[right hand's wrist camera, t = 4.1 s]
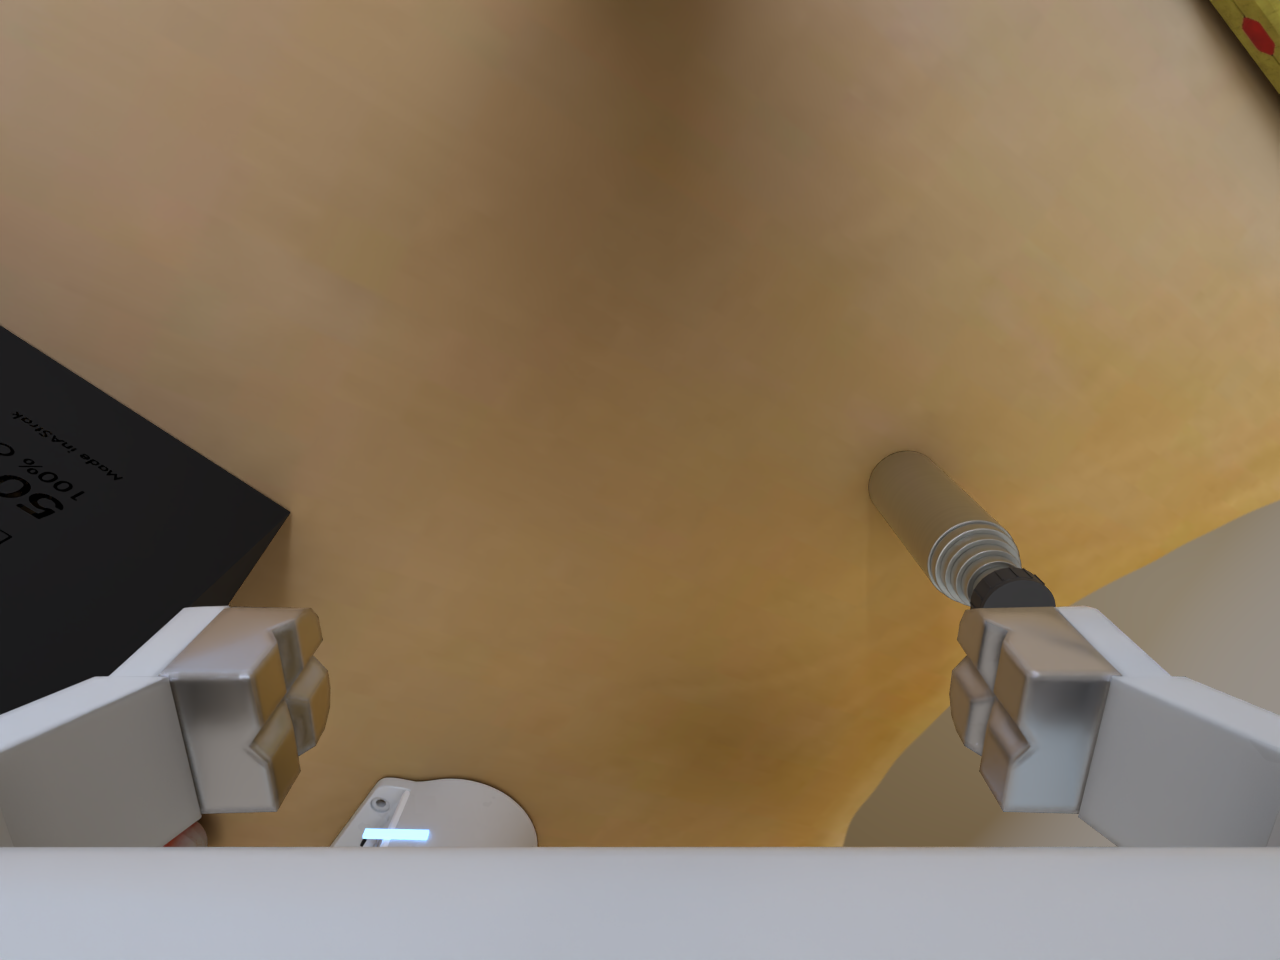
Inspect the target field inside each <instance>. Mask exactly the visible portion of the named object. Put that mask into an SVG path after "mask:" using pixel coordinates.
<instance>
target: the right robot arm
mask: <svg viewBox="0 0 1280 960" xmlns="http://www.w3.org/2000/svg"><path fill="white" fill-rule="evenodd" d="M322 641H323V638H322V633H321V628H320V622H319V617H318V616H317V614H316V613H315V612H314V611H313V610H312V609H311V608H275V607H230V606H205V607H188V608H183V609H182V610H181V611H180V612H179V613H178V614H177V615H176V616H175V617H173V618H172V619H171V620H170V621H169V622H168V623H167V624H166V625H165V626H164V627H162V628H161V629H160V630H159V631H158V632H157V633H156V634H155V635H154V636H153V637H151V638H150V639H149V640H148V641H147V642H146V643H145V644H144V645H143V646H141V647H140V648H139V649H138V650H137V651H136V652H135V653H134V654H133V655H132V656H130V657H129V658H128V659H127V660H126V661H125V662H124V663H123V664H122V665H121V666H119V667H118V668H117V669H116V670H115V671H114V672H113V673H112V674H111V675H109V676H101V677H93V678H90V679H88V680H85V681H83V682H80V683H78V684H75V685H73V686H70V687H68V688H65V689H63V690H61V691H58V692H56V693H53V694H51V695H48V696H46V697H43V698H41V699H38V700H36V701H33V702H31V703H28V704H26V705H24V706H21V707H19V708H16V709H14V710H11V711H9V712H6V713H4V714H1V715H0V960H1280V715H1278V714H1276V713H1273V712H1271V711H1269V710H1266V709H1264V708H1261V707H1259V706H1256V705H1254V704H1251V703H1249V702H1246V701H1244V700H1241V699H1239V698H1237V697H1234V696H1232V695H1229V694H1227V693H1224V692H1222V691H1219V690H1217V689H1214V688H1212V687H1210V686H1207V685H1205V684H1202V683H1200V682H1197V681H1195V680H1192V679H1190V678H1187V677H1180V676H1178V677H1177V676H1171V675H1169V674H1168V673H1167V672H1166V671H1165V670H1164V669H1163V668H1162V667H1161V666H1160V665H1158V664H1157V663H1156V662H1155V661H1154V660H1153V659H1152V658H1151V657H1150V656H1149V655H1147V654H1146V653H1145V652H1144V651H1143V650H1142V649H1141V648H1140V647H1139V646H1138V645H1136V644H1135V643H1134V642H1133V641H1132V640H1131V639H1130V638H1129V637H1128V636H1127V635H1125V634H1124V633H1123V632H1122V631H1121V630H1120V629H1119V628H1118V627H1117V626H1116V625H1114V624H1113V623H1112V622H1111V621H1110V620H1109V619H1108V618H1107V617H1106V616H1105V615H1103V614H1102V613H1101V612H1100V611H1099V610H1098V609H1096V608H1092V607H1089V606H1068V607H1017V608H975V609H969V610H965V612H964V615H963V617H962V619H961V621H960V626H959V632H958V637H957V641H958V642H959V644H960V645H961V647H962V648H963V650H964V651H965V653H966V654H967V656H966V657H965V658H964V659H963V660H962V661H961V662H960V663H959V664H958V665H957V666H956V667H955V668H954V669H953V670H952V676H951V684H950V693H949V695H950V705H951V715H952V719H953V722H954V725H955V728H956V731H957V733H958V735H959V737H960V738H961V740H962V742H963V744H964V746H966V747H967V748H969V749H971V750H972V751H974V752H975V753H977V754H979V755H980V756H982V758H981V764H980V770H979V772H980V773H981V775H982V776H983V778H984V780H985V782H986V783H987V785H988V787H989V788H990V790H991V792H992V793H993V795H994V797H995V798H996V800H997V802H998V804H999V805H1000V807H1001V809H1002V810H1003V812H1034V813H1071V814H1079V815H1078V817H1079V818H1080V819H1082V820H1083V821H1084V822H1086V823H1087V824H1088V825H1090V826H1091V827H1092V828H1094V829H1095V830H1096V831H1098V832H1099V833H1100V834H1102V835H1103V836H1104V837H1106V838H1107V839H1108V840H1110V841H1111V842H1112V843H1114V844H1115V845H1116V846H1118V847H163V846H164V845H165V844H167V843H168V842H169V841H171V840H172V839H173V838H175V837H176V836H177V835H179V834H180V833H181V832H183V831H184V830H185V829H187V828H188V827H189V826H191V825H192V824H193V823H195V822H196V821H197V820H199V819H200V818H201V817H202V816H201V814H210V813H245V812H277V810H278V809H279V807H280V805H281V804H282V802H283V800H284V799H285V797H286V795H287V794H288V792H289V790H290V788H291V787H292V785H293V783H294V782H295V780H296V778H297V777H298V775H299V773H300V771H301V770H300V764H299V758H298V756H300V755H301V754H303V753H305V752H306V751H308V750H309V749H311V748H313V747H314V746H316V744H317V742H318V740H319V738H320V737H321V735H322V733H323V731H324V729H325V725H326V721H327V717H328V713H329V709H330V682H329V675H328V670H327V669H326V668H325V667H324V666H323V665H322V664H321V663H320V662H319V661H318V660H317V659H316V658H315V657H314V656H313V654H314V653H315V651H316V650H317V648H318V647H319V645H320V644H321V642H322Z"/></svg>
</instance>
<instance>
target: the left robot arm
mask: <svg viewBox="0 0 1280 960" xmlns="http://www.w3.org/2000/svg"><path fill="white" fill-rule="evenodd" d="M380 799H381V800H384V801H381V800H380ZM330 847H538V844H537V836H536V832H535V829H534V826H533V824H532V822H531V820H530V818H529V817H528V815H527V814H526V812H525V811H524V810H523V809H522V808H521V807H520V806H519V805H518V804H517V803H516V802H515V801H514V800H513V799H511V798H510V797H509V796H507V795H506V794H504V793H503V792H501V791H499V790H497V789H495V788H493V787H491V786H488V785H485V784H482V783H479V782H475V781H470V780H464V779H438V780H430V781H421V782H415V781H410V780H405V779H400V778H383V779H381V780H379V781H378V782H377V783H376V785H375V786H374V787H373V789H372V790H371V791H370V793H369V794H368V796H367V797H366V798H365V800H364V801H363V802H362V804H361V805H360V806H359V808H358V809H357V810H356V812H355V813H354V814H353V816H352V817H351V819H350V820H349V821H348V823H347V824H346V825H345V827H344V828H343V829H342V831H341V832H340V833H339V835H338V836H337V837H336V839H335V840H334V842H333V843H332V844H331V846H330Z"/></svg>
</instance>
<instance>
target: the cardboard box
mask: <svg viewBox="0 0 1280 960" xmlns="http://www.w3.org/2000/svg"><path fill="white" fill-rule="evenodd" d="M17 412H19V414H18V415H14V414H16V413H17ZM12 414H13V415H12ZM20 415H23V416H20ZM24 417H26V420H25V421H22V420H20V419H24ZM28 419H30V420H31V421H30V423H29V424H28V423H25V422H29V420H28ZM31 425H33V427H32V426H31ZM37 425H39V426H37ZM36 426H37V427H36ZM41 427H43V428H44V429H42V430H41ZM36 428H38V430H39V431H37V430H36ZM46 430H47V431H48V432H46V436H45V437H42V436H43V435H44V433H45V431H46ZM49 432H51V433H52V434H50V433H49ZM47 435H48V436H47ZM2 443H4V444H5V446H4V445H0V479H1V480H3V481H4V482H2V483H0V715H1V714H4V713H6V712H9V711H11V710H14V709H16V708H19V707H21V706H24V705H26V704H28V703H31V702H33V701H36V700H38V699H41V698H43V697H46V696H48V695H51V694H53V693H56V692H58V691H61V690H63V689H65V688H68V687H70V686H73V685H75V684H78V683H80V682H83V681H85V680H88V679H90V678H93V677H101V676H109V675H111V674H112V673H113V672H114V671H115V670H116V669H117V668H118V667H119V666H121V665H122V664H123V663H124V662H125V661H126V660H127V659H128V658H129V657H130V656H132V655H133V654H134V653H135V652H136V651H137V650H138V649H139V648H140V647H141V646H143V645H144V644H145V643H146V642H147V641H148V640H149V639H150V638H151V637H153V636H154V635H155V634H156V633H157V632H158V631H159V630H160V629H161V628H162V627H164V626H165V625H166V624H167V623H168V622H169V621H170V620H171V619H172V618H173V617H175V616H176V615H177V614H178V613H179V612H180V611H181V610H182V609H183V608H188V607H205V606H227V605H228V604H229V602H230V601H231V600H232V598H233V597H234V595H235V594H236V592H237V591H238V589H239V588H240V586H241V585H242V583H243V582H244V580H245V579H246V577H247V576H248V574H249V573H250V571H251V570H252V569H253V567H254V566H255V564H256V563H257V561H258V560H259V558H260V557H261V555H262V554H263V552H264V551H265V549H266V548H267V546H268V545H269V543H270V542H271V540H272V539H273V538H274V536H275V535H276V533H277V532H278V530H279V529H280V527H281V526H282V524H283V523H284V521H285V520H286V518H287V517H288V515H289V514H290V512H289V511H287V510H286V509H284V508H283V507H281V506H280V505H278V504H276V503H275V502H273V501H272V500H270V499H269V498H267V497H266V496H264V495H262V494H261V493H259V492H258V491H256V490H255V489H253V488H252V487H250V486H248V485H247V484H245V483H244V482H242V481H241V480H239V479H238V478H236V477H235V476H233V475H231V474H230V473H228V472H227V471H225V470H224V469H222V468H221V467H219V466H217V465H216V464H214V463H213V462H211V461H210V460H208V459H207V458H205V457H203V456H202V455H200V454H199V453H197V452H196V451H194V450H193V449H191V448H189V447H188V446H186V445H185V444H183V443H182V442H180V441H179V440H177V439H175V438H174V437H172V436H171V435H169V434H168V433H166V432H165V431H163V430H161V429H160V428H158V427H157V426H155V425H154V424H152V423H151V422H149V421H147V420H146V419H144V418H143V417H141V416H140V415H138V414H137V413H135V412H133V411H132V410H130V409H129V408H127V407H126V406H124V405H123V404H121V403H119V402H118V401H116V400H115V399H113V398H112V397H110V396H109V395H107V394H105V393H104V392H102V391H101V390H99V389H98V388H96V387H95V386H93V385H91V384H90V383H88V382H87V381H85V380H84V379H82V378H81V377H79V376H77V375H76V374H74V373H73V372H71V371H70V370H68V369H67V368H65V367H63V366H62V365H60V364H59V363H57V362H56V361H54V360H53V359H51V358H50V357H48V356H46V355H45V354H43V353H42V352H40V351H39V350H37V349H36V348H34V347H32V346H31V345H29V344H28V343H26V342H25V341H23V340H22V339H20V338H18V337H17V336H15V335H14V334H12V333H11V332H9V331H8V330H6V329H4V328H3V327H1V326H0V444H2ZM7 445H9V446H10V447H9V448H10V449H9V448H8V447H6V446H7ZM7 475H9V476H11V477H12V478H10V477H9V476H7ZM17 477H19V478H22V479H24V480H21V481H19V480H14V479H17ZM26 482H28V484H27V487H25V486H24V485H25V484H26ZM30 487H31V490H30V489H29V488H30ZM18 490H19V491H21V492H22V493H21V495H20V497H17V498H5V496H6V494H8V493H12V492H16V491H18ZM37 493H38V494H37ZM42 494H45V498H44V497H42V496H41V495H42ZM49 495H50V496H51V499H50V500H49V499H46V498H48V497H49ZM34 501H37V502H38V504H39V505H40V506H42V507H44V508H45V509H43V510H41V509H38V508H36V507H34V506H33V505H32V504H31V503H32V502H34ZM17 506H18V507H17ZM23 506H26V507H28V508H29V509H31V510H33V511H34V512H36V513H34V514H32V515H30V514H29V513H27V512H25V511H24V510H22V509H20V508H21V507H23ZM19 507H20V508H19Z"/></svg>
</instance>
